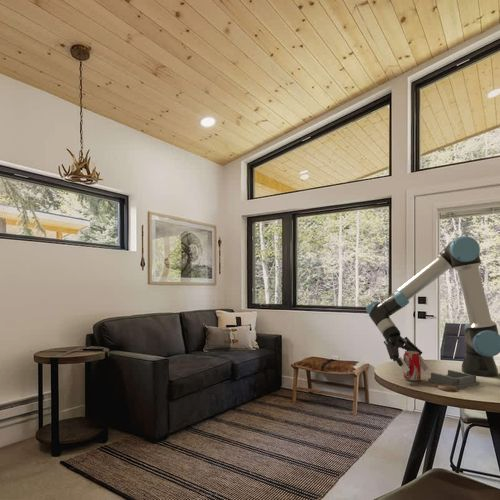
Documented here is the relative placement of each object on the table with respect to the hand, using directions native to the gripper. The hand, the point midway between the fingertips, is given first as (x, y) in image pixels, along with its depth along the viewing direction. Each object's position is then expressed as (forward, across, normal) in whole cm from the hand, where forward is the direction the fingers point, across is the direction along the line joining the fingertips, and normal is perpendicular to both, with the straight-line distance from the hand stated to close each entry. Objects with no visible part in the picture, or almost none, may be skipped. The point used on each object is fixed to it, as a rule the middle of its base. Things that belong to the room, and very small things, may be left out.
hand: (417, 370), depth 173 cm
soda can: (+1, 0, -5) cm, 5 cm away
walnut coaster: (+13, 0, +7) cm, 15 cm away
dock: (+10, -11, +3) cm, 15 cm away
